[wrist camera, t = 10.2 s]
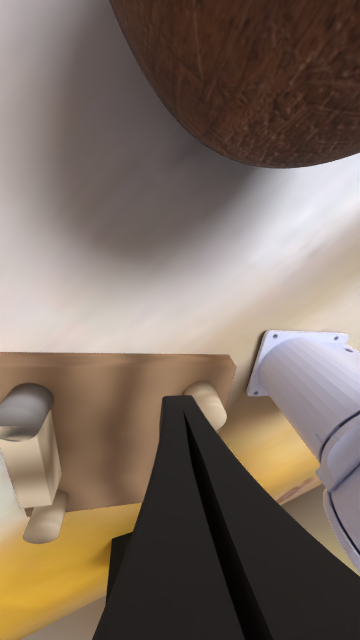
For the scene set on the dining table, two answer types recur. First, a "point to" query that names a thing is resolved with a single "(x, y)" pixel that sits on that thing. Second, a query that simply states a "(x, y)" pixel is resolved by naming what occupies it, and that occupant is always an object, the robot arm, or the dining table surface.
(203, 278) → the dining table surface
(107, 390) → the stool seat
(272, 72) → the wooden sphere
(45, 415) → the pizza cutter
